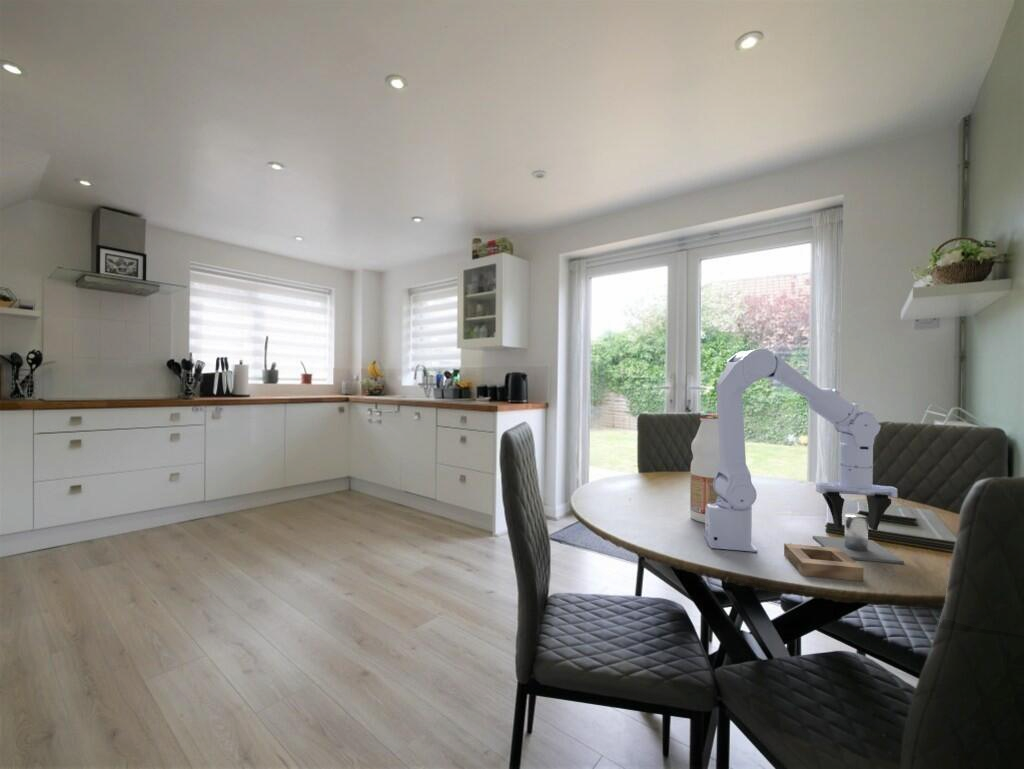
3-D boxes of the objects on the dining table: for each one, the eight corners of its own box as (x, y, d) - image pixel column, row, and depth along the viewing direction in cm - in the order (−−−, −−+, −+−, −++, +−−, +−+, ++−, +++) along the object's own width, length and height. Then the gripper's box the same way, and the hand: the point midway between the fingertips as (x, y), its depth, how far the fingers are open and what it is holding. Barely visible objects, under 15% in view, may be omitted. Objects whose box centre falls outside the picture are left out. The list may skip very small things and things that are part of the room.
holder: (802, 575, 85) (802, 562, 85) (784, 555, 95) (784, 543, 95) (863, 581, 83) (863, 567, 83) (838, 559, 92) (838, 547, 92)
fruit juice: (684, 519, 119) (685, 414, 118) (697, 511, 125) (698, 412, 125) (721, 527, 112) (722, 416, 112) (733, 518, 119) (734, 414, 119)
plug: (848, 550, 96) (848, 517, 96) (841, 543, 100) (842, 512, 100) (870, 552, 95) (871, 519, 95) (863, 546, 99) (863, 514, 98)
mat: (835, 557, 93) (836, 555, 93) (812, 537, 105) (812, 535, 105) (904, 563, 90) (904, 561, 90) (872, 542, 102) (872, 540, 102)
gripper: (825, 467, 95) (825, 530, 95) (906, 470, 92) (905, 536, 92) (812, 461, 102) (811, 520, 102) (887, 464, 99) (886, 525, 99)
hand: (855, 527), depth 98 cm, fingers open, 6 cm apart
